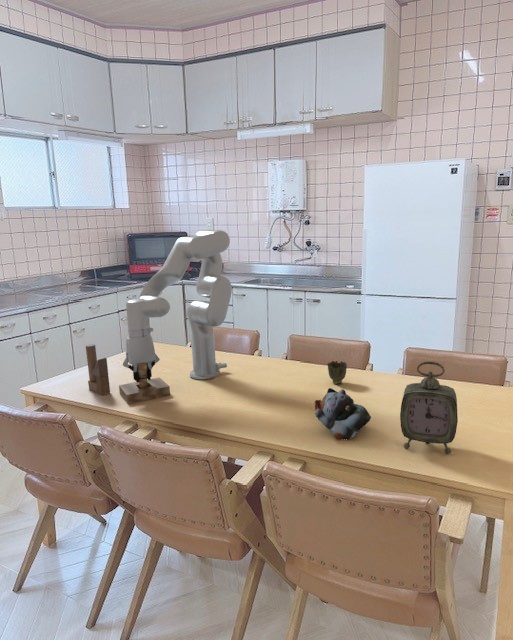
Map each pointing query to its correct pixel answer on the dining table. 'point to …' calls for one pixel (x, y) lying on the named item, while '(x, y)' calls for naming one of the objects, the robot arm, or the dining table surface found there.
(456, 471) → the dining table surface
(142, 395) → the board
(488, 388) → the dining table surface
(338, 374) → the cup
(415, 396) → the tabletop clock
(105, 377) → the brown jointed angular part
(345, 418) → the lucky cat figurine
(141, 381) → the peg
